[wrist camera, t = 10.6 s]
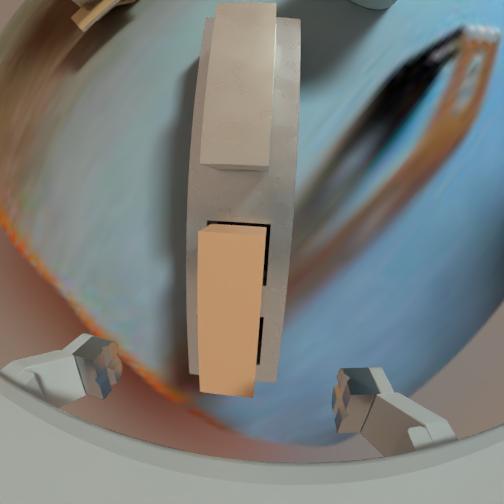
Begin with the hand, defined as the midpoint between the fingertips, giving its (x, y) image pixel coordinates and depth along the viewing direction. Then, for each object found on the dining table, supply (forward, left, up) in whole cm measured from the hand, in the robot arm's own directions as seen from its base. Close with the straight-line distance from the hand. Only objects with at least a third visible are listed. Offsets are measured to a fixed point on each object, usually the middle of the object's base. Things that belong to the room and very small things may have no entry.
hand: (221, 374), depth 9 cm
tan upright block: (0, 0, -11) cm, 11 cm away
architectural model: (+13, -24, -12) cm, 30 cm away
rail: (0, -6, -11) cm, 13 cm away
